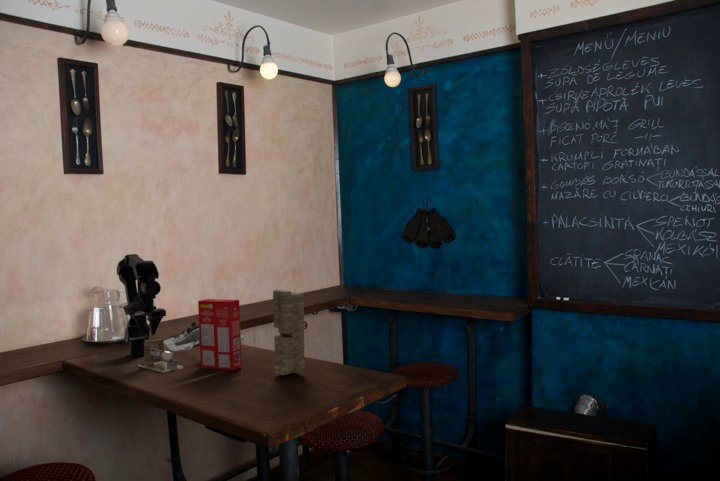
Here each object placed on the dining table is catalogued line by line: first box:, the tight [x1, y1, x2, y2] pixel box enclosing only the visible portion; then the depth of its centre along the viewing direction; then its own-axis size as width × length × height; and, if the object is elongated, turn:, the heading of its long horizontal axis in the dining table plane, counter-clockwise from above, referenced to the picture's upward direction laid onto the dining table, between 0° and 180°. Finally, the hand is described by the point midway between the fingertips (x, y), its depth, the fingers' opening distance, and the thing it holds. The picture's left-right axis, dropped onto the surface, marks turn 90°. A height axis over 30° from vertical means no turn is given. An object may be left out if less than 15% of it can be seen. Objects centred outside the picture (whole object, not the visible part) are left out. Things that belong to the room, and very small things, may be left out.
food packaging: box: [197, 298, 243, 371], centre depth 218 cm, size 15×5×25 cm, turn 65°
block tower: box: [272, 289, 306, 376], centre depth 207 cm, size 8×8×29 cm
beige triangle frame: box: [143, 338, 165, 364], centre depth 224 cm, size 2×7×8 cm, turn 140°
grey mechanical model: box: [137, 347, 184, 374], centre depth 221 cm, size 18×8×7 cm, turn 50°
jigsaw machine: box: [162, 321, 200, 353], centre depth 252 cm, size 20×11×11 cm, turn 136°
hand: (147, 333), depth 227 cm, fingers open, 8 cm apart
